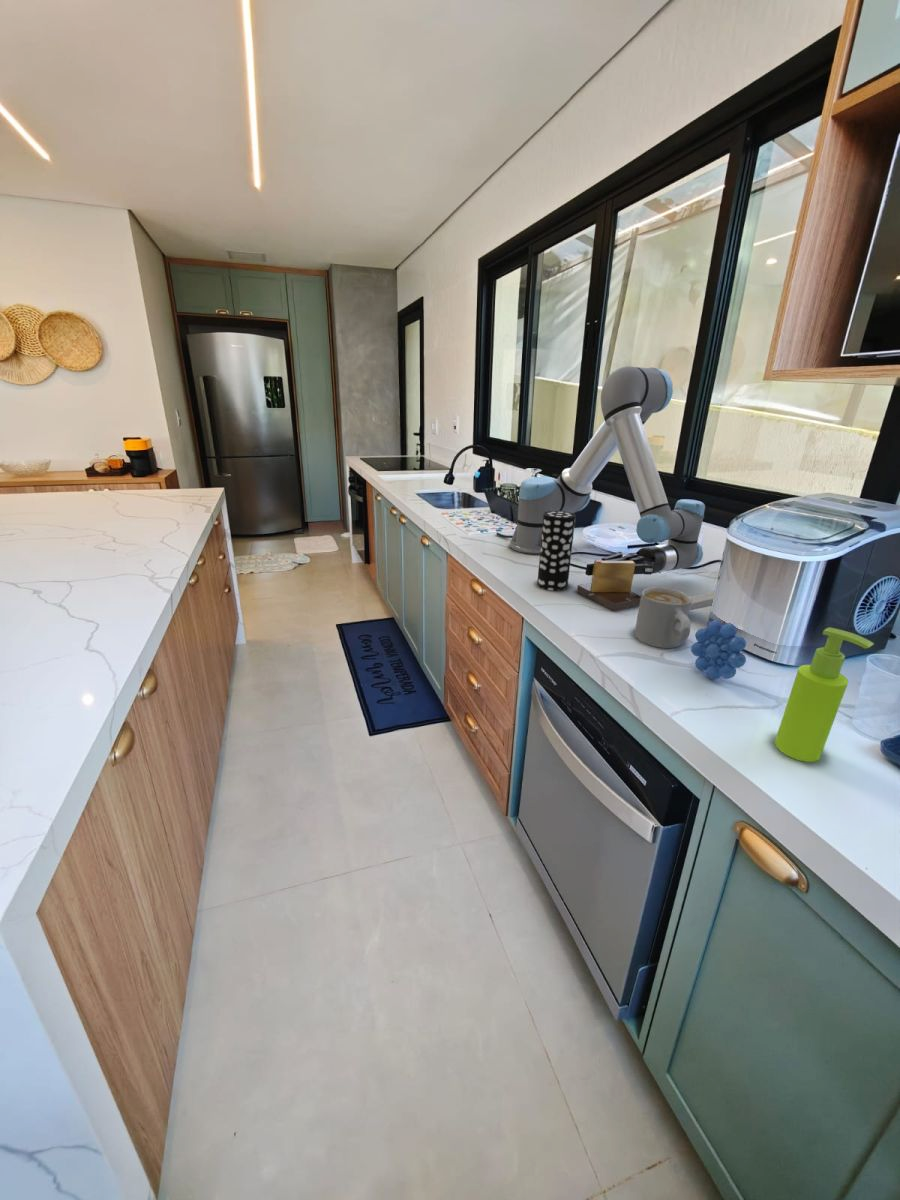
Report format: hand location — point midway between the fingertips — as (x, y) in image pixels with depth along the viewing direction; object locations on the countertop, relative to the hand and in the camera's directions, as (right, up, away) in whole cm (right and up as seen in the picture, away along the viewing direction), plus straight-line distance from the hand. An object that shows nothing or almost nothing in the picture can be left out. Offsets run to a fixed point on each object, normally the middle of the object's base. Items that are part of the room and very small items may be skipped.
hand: (587, 570), depth 130 cm
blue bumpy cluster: (+15, -23, -34) cm, 44 cm away
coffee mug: (+10, -17, -20) cm, 28 cm away
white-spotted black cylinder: (-7, -4, +10) cm, 13 cm away
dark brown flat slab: (+6, -7, +2) cm, 10 cm away
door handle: (+29, -11, -6) cm, 32 cm away
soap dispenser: (+18, -31, -54) cm, 64 cm away
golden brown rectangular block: (+6, -5, +1) cm, 8 cm away
